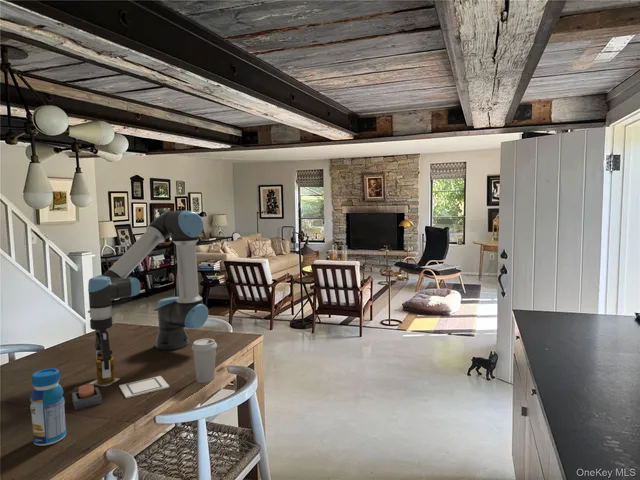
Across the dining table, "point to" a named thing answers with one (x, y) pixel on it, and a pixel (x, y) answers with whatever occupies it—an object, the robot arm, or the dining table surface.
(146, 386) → the white rectangular plate
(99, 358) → the condiment
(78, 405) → the button box
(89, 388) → the button
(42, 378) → the beverage bottle
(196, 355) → the coffee cup
